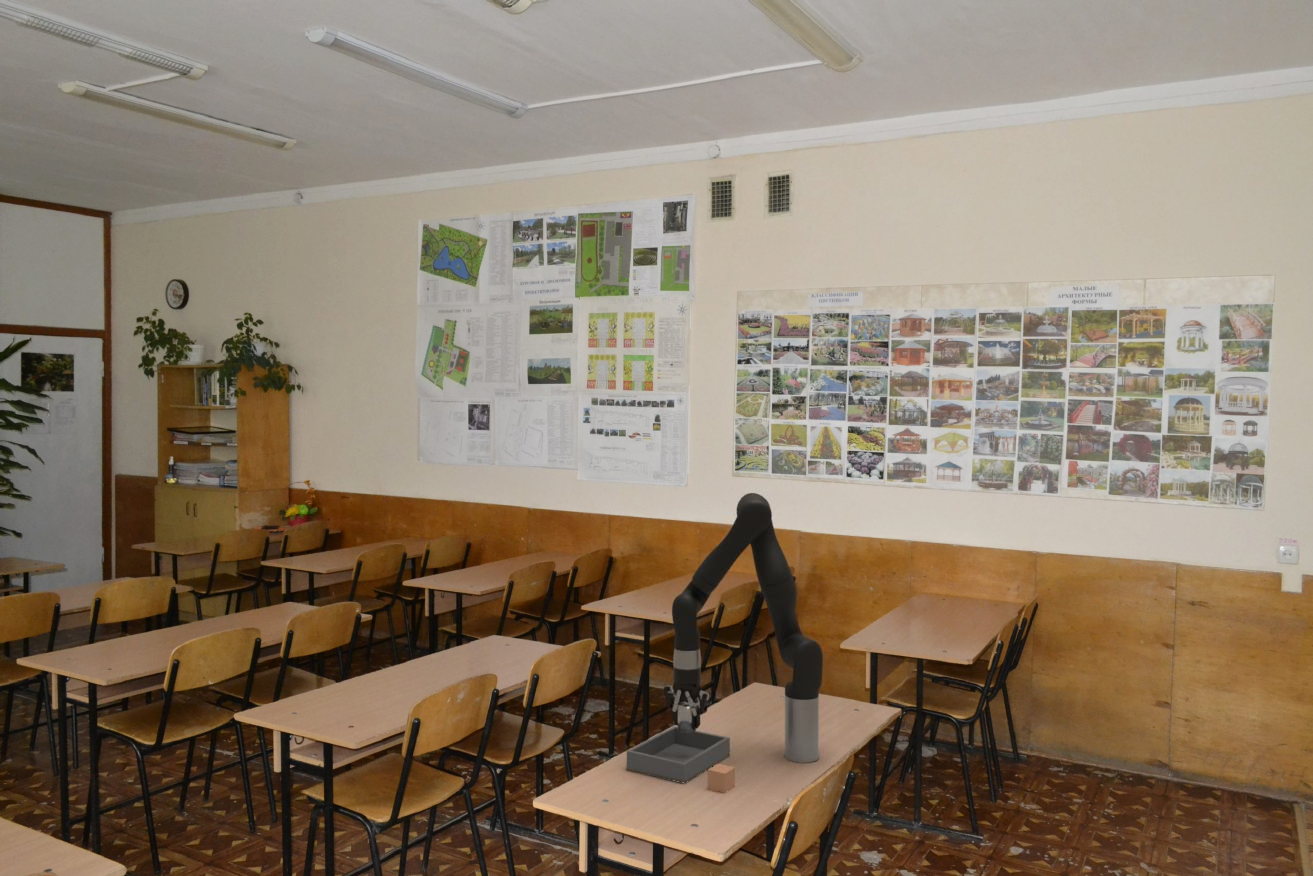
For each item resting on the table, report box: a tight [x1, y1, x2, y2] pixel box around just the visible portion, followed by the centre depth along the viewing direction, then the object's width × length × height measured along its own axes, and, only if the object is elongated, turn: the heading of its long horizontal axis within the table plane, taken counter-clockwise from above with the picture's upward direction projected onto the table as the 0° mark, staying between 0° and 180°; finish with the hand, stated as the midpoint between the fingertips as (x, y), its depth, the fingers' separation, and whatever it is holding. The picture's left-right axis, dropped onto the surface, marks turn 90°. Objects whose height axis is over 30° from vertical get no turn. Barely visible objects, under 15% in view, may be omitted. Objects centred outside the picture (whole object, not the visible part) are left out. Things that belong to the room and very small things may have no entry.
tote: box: [626, 725, 731, 784], centre depth 256 cm, size 24×18×5 cm
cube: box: [707, 763, 736, 794], centre depth 239 cm, size 5×5×5 cm
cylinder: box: [677, 702, 697, 733], centre depth 259 cm, size 5×5×7 cm
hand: (686, 726), depth 259 cm, fingers closed on cylinder, 5 cm apart
